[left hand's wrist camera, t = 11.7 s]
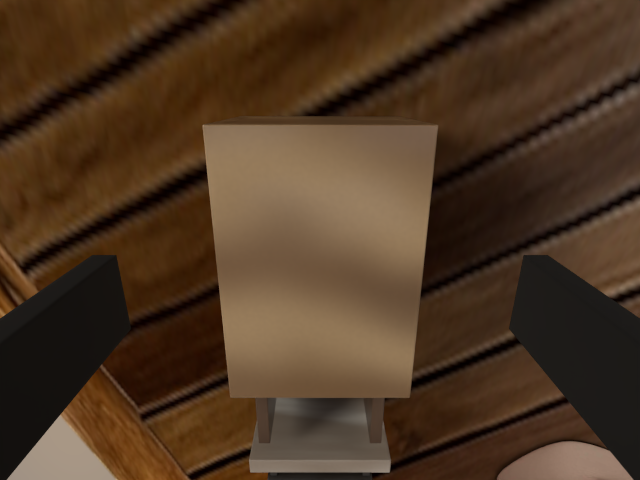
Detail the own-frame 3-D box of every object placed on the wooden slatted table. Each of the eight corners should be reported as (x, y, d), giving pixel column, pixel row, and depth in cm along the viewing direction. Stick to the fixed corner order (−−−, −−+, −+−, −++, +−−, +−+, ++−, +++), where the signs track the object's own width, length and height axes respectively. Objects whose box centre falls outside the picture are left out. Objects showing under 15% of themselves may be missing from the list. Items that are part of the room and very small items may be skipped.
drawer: (372, 446, 36) (384, 527, 29) (267, 446, 36) (254, 527, 29) (386, 238, 29) (407, 281, 22) (253, 237, 29) (233, 281, 22)
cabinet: (386, 319, 32) (410, 398, 24) (253, 319, 32) (230, 398, 24) (400, 116, 26) (438, 124, 18) (239, 116, 26) (202, 124, 18)
